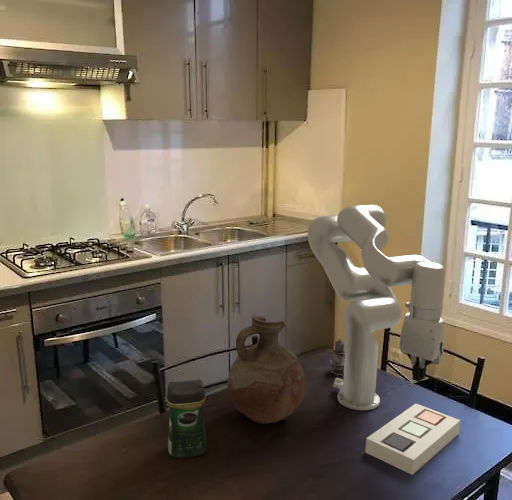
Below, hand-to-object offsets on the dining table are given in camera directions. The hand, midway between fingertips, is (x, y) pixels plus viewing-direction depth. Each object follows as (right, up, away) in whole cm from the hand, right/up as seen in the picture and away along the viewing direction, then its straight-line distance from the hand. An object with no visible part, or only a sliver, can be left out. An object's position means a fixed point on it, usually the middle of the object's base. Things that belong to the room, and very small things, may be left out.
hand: (418, 379), depth 142 cm
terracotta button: (+5, -14, +8) cm, 17 cm away
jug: (-39, -14, +14) cm, 44 cm away
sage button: (0, -16, +2) cm, 16 cm away
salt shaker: (-14, -8, +44) cm, 47 cm away
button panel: (0, -17, +3) cm, 17 cm away
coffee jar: (-59, -18, -2) cm, 62 cm away
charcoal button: (-6, -17, -4) cm, 18 cm away
